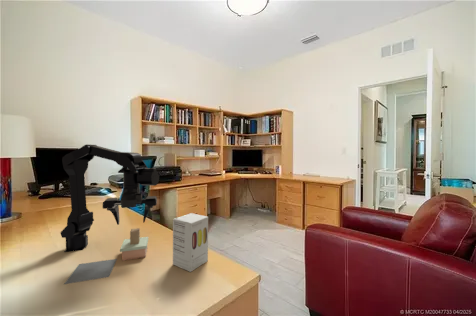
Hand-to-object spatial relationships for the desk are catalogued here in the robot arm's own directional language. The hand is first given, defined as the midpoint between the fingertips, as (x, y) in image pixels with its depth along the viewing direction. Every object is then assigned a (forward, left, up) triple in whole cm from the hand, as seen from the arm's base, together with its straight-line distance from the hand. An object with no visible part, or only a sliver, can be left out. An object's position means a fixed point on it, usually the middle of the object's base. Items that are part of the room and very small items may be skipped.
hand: (131, 223), depth 84 cm
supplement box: (+22, -14, -12) cm, 29 cm away
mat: (-10, -10, -12) cm, 19 cm away
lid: (+2, -2, -8) cm, 9 cm away
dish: (+2, -2, -12) cm, 12 cm away
